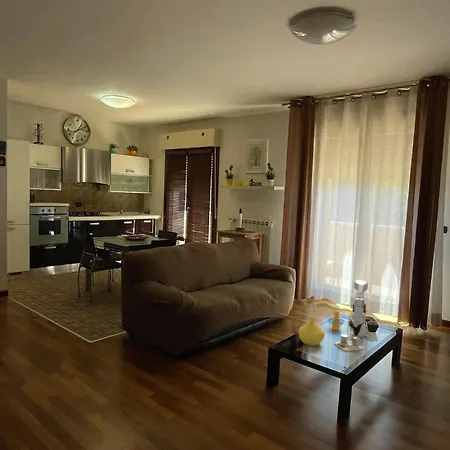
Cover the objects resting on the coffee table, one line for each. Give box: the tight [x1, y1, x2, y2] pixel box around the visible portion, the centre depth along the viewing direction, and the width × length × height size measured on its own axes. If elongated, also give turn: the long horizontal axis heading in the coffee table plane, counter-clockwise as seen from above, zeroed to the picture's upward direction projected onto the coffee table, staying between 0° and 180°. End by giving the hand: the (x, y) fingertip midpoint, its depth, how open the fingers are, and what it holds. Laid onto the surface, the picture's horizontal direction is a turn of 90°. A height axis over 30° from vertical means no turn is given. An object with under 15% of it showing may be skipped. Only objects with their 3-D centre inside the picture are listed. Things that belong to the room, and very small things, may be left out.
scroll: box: [348, 302, 367, 326], centre depth 321 cm, size 15×15×20 cm
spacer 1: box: [339, 333, 349, 344], centre depth 278 cm, size 4×4×5 cm
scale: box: [333, 339, 364, 352], centre depth 276 cm, size 15×13×2 cm
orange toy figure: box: [327, 309, 345, 331], centre depth 311 cm, size 12×10×15 cm
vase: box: [298, 316, 325, 347], centre depth 278 cm, size 18×18×19 cm
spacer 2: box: [351, 336, 362, 346], centre depth 274 cm, size 4×4×5 cm
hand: (356, 334), depth 273 cm, fingers open, 7 cm apart
